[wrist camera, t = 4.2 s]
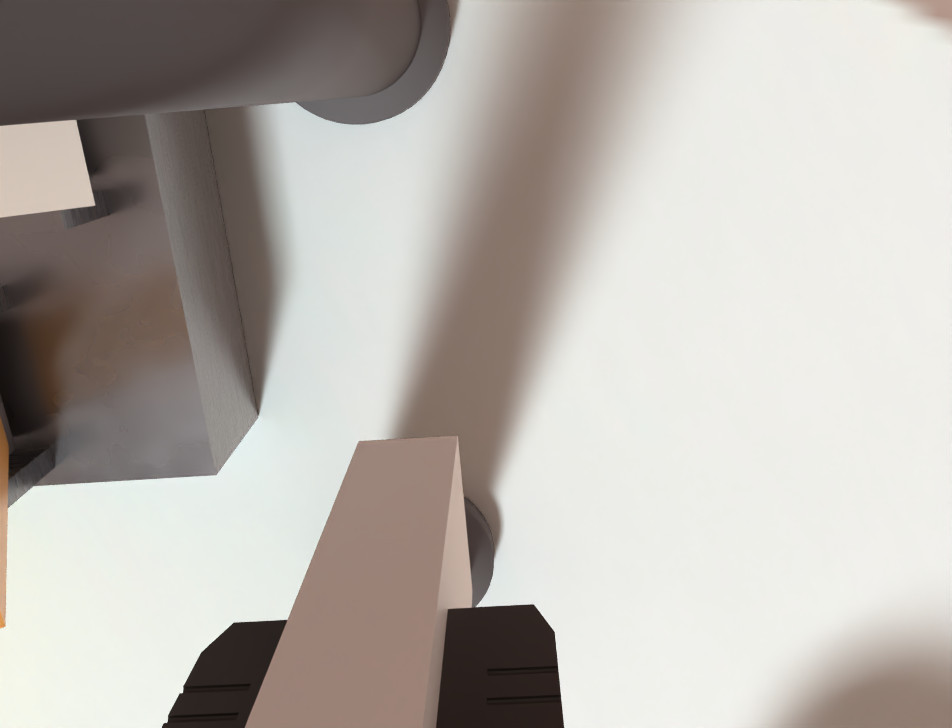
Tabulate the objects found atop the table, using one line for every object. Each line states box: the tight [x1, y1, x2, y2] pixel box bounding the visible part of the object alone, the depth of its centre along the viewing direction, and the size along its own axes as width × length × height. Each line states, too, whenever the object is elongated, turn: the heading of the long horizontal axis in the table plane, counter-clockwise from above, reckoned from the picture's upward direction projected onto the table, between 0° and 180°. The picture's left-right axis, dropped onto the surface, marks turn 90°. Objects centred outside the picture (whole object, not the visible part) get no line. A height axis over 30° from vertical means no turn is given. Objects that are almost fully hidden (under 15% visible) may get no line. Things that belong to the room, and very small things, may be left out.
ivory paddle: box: [0, 120, 95, 218], centre depth 14 cm, size 2×3×10 cm, turn 4°
